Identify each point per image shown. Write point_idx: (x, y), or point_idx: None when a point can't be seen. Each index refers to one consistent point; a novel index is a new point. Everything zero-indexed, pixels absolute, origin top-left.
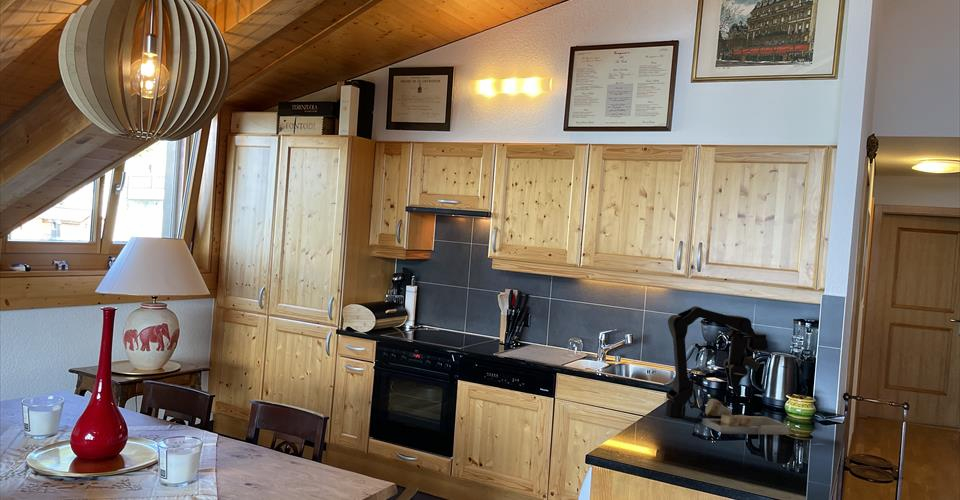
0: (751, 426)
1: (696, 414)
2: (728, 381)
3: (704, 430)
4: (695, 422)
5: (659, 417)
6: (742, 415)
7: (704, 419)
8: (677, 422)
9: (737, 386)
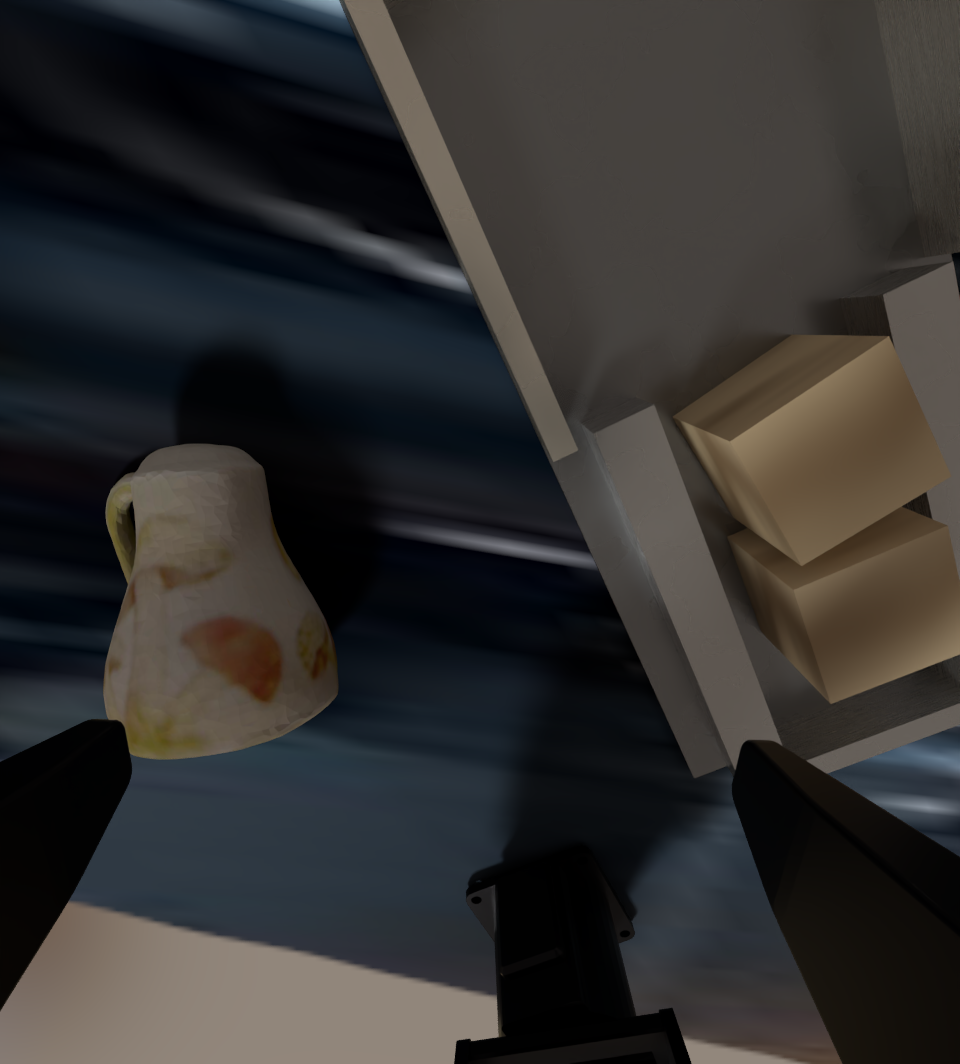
0: (922, 351)
1: (296, 743)
2: (49, 928)
3: (888, 757)
4: (633, 786)
5: None
6: (766, 446)
7: None
8: (705, 899)
9: (908, 834)
